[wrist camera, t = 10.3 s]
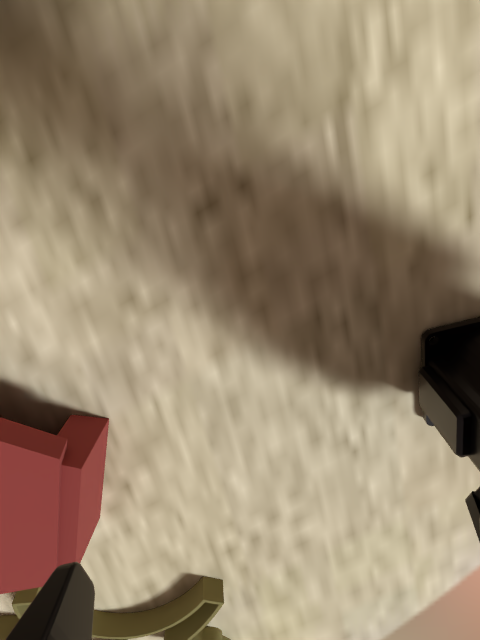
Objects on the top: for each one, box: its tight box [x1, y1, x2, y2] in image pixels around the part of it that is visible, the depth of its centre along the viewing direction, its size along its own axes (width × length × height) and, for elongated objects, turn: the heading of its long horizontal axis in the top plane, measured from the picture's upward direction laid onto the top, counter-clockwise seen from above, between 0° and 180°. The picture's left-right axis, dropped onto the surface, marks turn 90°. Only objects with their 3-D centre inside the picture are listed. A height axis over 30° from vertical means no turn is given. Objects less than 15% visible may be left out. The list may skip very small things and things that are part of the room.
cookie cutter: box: [0, 576, 230, 640], centre depth 32 cm, size 18×12×2 cm, turn 82°
